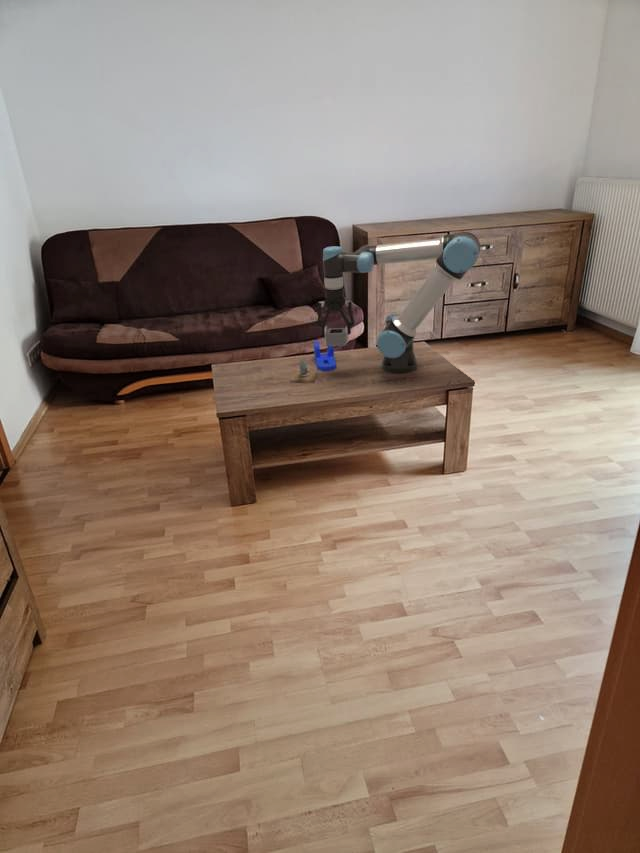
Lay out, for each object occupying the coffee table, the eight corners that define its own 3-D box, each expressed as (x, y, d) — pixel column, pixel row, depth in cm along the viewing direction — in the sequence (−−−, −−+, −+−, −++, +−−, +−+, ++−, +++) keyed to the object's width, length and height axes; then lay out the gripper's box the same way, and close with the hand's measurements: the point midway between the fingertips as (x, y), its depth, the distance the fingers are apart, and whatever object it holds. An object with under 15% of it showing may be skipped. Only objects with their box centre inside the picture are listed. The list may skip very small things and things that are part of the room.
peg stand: (317, 373, 245) (316, 355, 241) (314, 382, 236) (312, 364, 232) (294, 373, 246) (293, 355, 242) (290, 382, 237) (289, 364, 234)
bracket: (314, 358, 263) (313, 339, 259) (332, 356, 263) (331, 338, 259) (318, 372, 247) (317, 352, 243) (337, 370, 247) (336, 351, 243)
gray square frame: (347, 339, 239) (346, 328, 237) (345, 345, 232) (345, 333, 230) (328, 339, 240) (328, 328, 238) (326, 345, 233) (325, 334, 231)
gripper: (360, 284, 227) (362, 338, 238) (309, 285, 230) (313, 339, 241) (359, 288, 221) (361, 344, 231) (306, 290, 224) (310, 345, 234)
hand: (336, 342), depth 236 cm, fingers closed on gray square frame, 8 cm apart
